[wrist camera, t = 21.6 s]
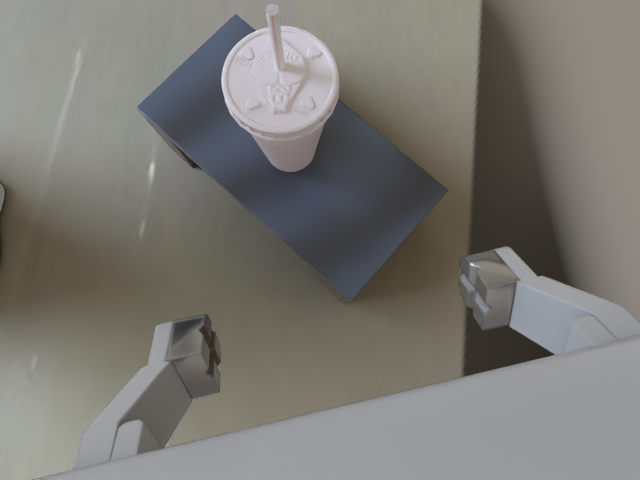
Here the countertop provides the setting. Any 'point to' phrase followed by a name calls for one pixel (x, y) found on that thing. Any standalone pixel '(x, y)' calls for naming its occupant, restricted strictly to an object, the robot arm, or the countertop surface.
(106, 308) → the countertop surface
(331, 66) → the smoothie
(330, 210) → the wooden step stool
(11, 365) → the countertop surface
